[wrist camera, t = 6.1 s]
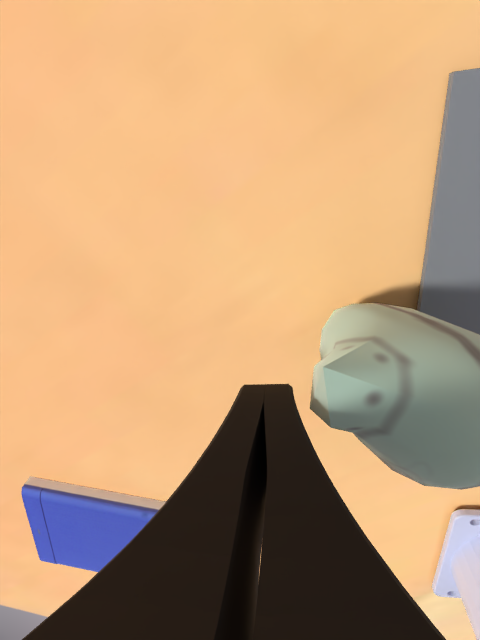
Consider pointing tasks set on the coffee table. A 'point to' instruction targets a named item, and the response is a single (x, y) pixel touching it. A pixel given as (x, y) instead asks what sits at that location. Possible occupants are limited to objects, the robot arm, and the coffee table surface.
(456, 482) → the grey-green rounded piece
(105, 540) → the hard drive
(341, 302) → the coffee table surface
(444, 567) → the robot arm
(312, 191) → the coffee table surface
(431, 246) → the mat
